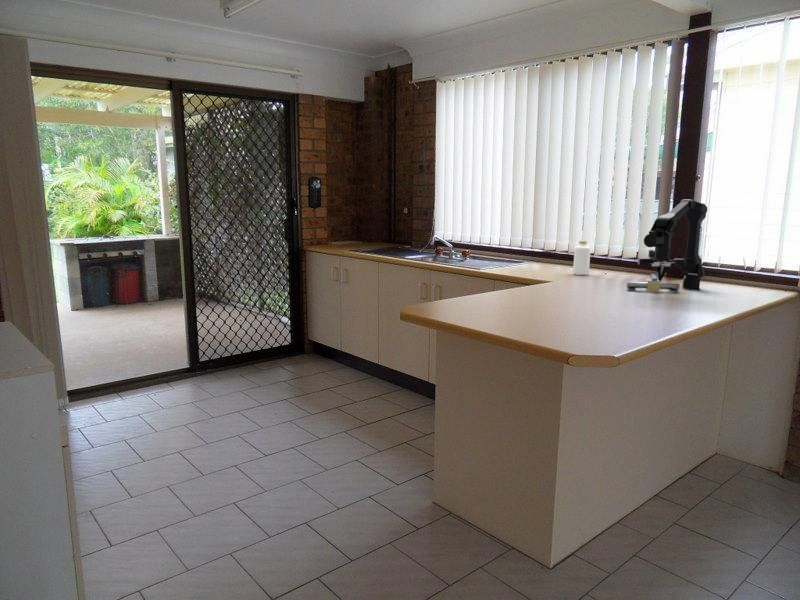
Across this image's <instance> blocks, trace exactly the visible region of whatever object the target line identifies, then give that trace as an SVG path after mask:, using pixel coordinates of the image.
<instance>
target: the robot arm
mask: <svg viewBox="0 0 800 600" xmlns="http://www.w3.org/2000/svg"><path fill="white" fill-rule="evenodd" d="M707 212H708V206H707V205H706V204H705V203H701V202H699V201H696V200H694V199H692V198H691V199H688V198H687V199H685V198H684V199H681V200H680V202H679V203H678V204H677V205H676V206H675V207H674V208H673V209H671V210H670V211H669V212H668V213H664V214H662V215H659V216H657V218H656V219H655V220H654V222H653V225H652V226H651V227H650V228H651V229H650V230H649V231H648V234H646V235H645V236H644V238H643V244H644V246H646V247H647V248H655V249H653V250H652V249H650V250H648V257H638V258H637V265H639V266H648V265H651V267H652V268H654V270H655V272H656V275H657V278H658V280H659V281H660V282H662V279H663V278H664V277H665V274H666V272H667V271H668V269H671V268H672V266H671V265H676V266H677V267H680V274H681V276H684V277H683V278H682V283H681V287H682V288H683V289H684V290H692V291H693V290H696V291H700V290H701V288H700V286H701V285H700V284H701V278H703V277H705V273H706V270H705V269H704V267H703V264H702V263H703V262H702V258H701V257H700V255H699V251H700V238H701V227H702V223H703V221H704V220H705V219H706V217H707ZM684 215H685V218H686V220H687V221H688V231H687V232H688V233H687V243H686V254H685V255H684V257H681V258H677V257H676V258H673V259H670V251H671V239H672V236H674V233H673V232H672V231H673V230H674V229H675V227H677V222H678V221H679V220H680V219H681V218H682V217H683V216H684Z"/></svg>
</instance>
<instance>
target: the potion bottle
mask: <svg viewBox="0 0 800 600" xmlns="http://www.w3.org/2000/svg"><path fill="white" fill-rule="evenodd" d="M591 250H592V248H591V247H590V246H589V245H588V241H586V240H580V241H579V242H578V245H576V246H575V247H574V253H573V265H572V268H573V269H572V272H573V275H575V276H587V275H588V276H589V275H590V266H591V265H590V261H591Z"/></svg>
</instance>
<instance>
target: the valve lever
mask: <svg viewBox="0 0 800 600" xmlns="http://www.w3.org/2000/svg"><path fill="white" fill-rule="evenodd" d="M649 277H650V278H649V279H652V281H658V276H657V274H653V273H651V274H650V275H649Z"/></svg>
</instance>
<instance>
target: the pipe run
mask: <svg viewBox="0 0 800 600" xmlns="http://www.w3.org/2000/svg"><path fill="white" fill-rule="evenodd" d="M626 288H627V291H628V292H636V291H637V289H645V291H646V292H647V293H660V290H668V293H670V292H671V293H670V294H679V291H680V283H674V282H673V283H668V282H661V281H659V280H658V281H652V278H649V279H648V278H646V281H627V282H626Z"/></svg>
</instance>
